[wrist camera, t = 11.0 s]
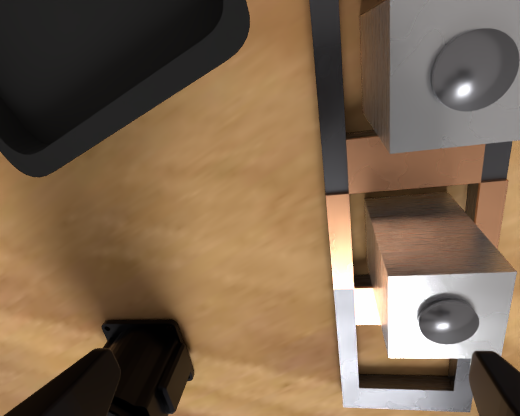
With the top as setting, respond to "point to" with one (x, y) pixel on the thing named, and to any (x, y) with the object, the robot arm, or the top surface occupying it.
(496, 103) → the grey metal block
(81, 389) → the robot arm
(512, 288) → the knobbed block
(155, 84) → the tray
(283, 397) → the top surface
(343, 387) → the rail
